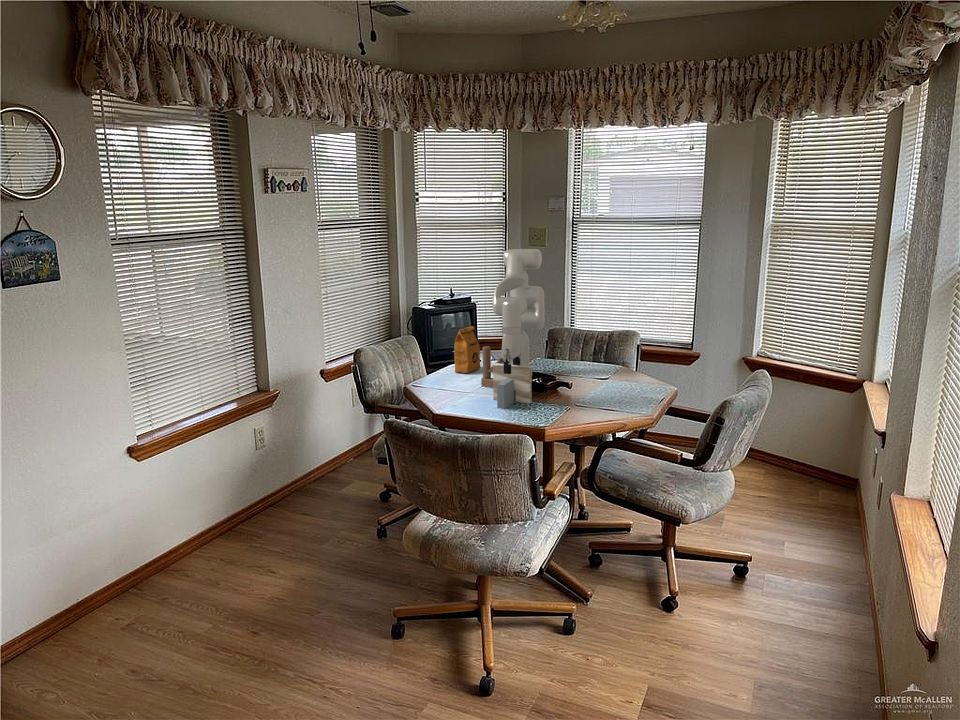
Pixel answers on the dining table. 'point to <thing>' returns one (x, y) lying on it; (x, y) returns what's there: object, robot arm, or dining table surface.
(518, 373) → the upright beige panel
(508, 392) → the grey rectangular panel
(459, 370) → the coffee package
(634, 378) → the dining table surface
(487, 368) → the tan post stand
